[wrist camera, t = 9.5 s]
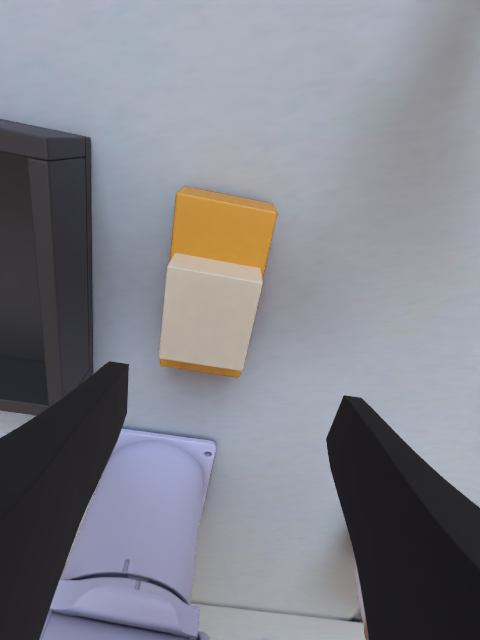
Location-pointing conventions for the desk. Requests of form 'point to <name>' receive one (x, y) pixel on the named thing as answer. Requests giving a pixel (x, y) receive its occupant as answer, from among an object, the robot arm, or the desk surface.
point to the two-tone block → (214, 280)
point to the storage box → (44, 266)
